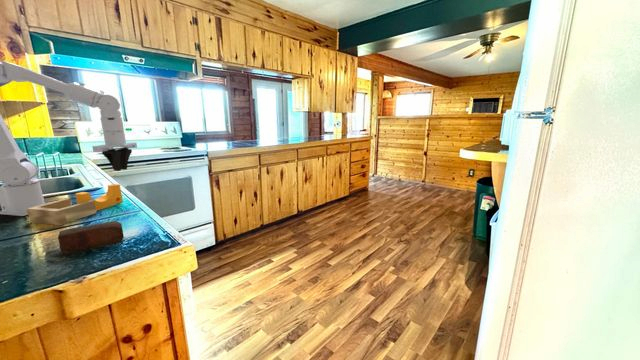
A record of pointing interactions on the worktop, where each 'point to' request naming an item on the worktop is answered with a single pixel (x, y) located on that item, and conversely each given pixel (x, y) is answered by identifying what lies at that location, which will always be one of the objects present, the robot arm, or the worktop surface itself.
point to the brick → (90, 237)
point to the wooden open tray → (60, 212)
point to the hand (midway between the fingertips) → (120, 170)
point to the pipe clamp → (103, 197)
